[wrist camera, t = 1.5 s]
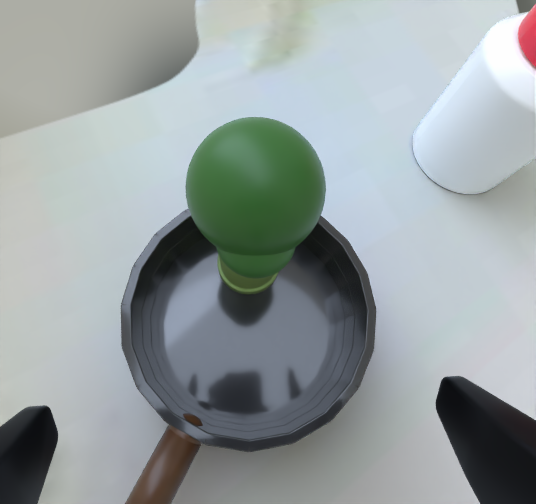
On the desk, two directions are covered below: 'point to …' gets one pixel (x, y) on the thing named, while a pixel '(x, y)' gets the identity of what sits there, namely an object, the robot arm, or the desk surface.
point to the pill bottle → (484, 113)
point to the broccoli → (255, 198)
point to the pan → (247, 338)
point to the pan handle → (166, 467)
